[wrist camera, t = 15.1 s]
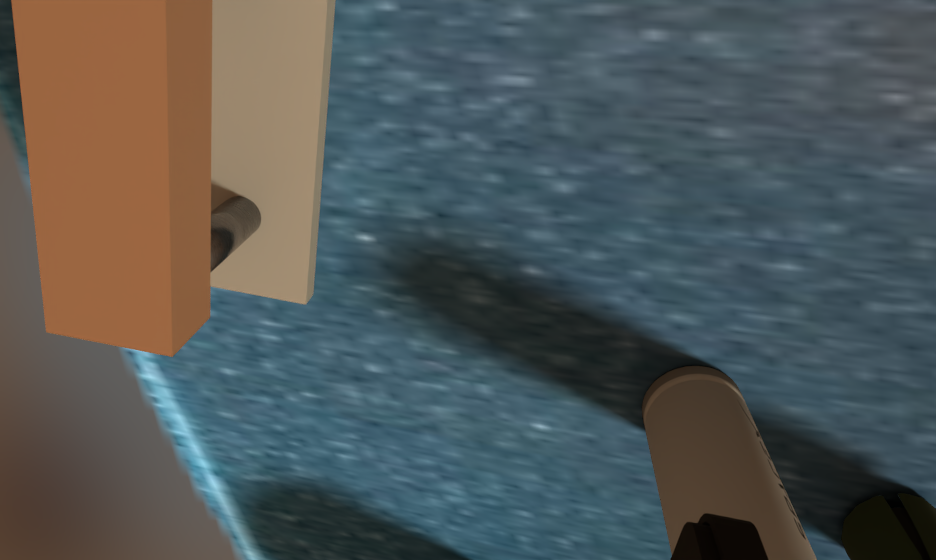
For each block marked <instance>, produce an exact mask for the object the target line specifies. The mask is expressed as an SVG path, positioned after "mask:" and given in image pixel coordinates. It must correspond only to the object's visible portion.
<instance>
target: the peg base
mask: <svg viewBox="0 0 936 560" xmlns="http://www.w3.org/2000/svg"><path fill="white" fill-rule="evenodd" d="M334 13H335V0H212V123H211V211H212V210H214V209H215V208H217V207H218V206H219V205H221V204H222V203H223V202H225V201H226V200H227V199H229V198H231V197H234V196H242V197H245V198H248V199H249V200H251V201H252V202H253V203H254V204H255V205H256V206H257V207H258V209H259V211H260V214H261V224H260V226H259V228H258V229H257V231H255V232H254V233H253V234H252V235H251V236H250V237H249V238H248V239H247V240H246V241H245V242H243V243H242V244H241V245H240V246H239V247H238V248H237V249H236V250H235V251H234V252H233V253H232V254H230V255H229V256H228V257H227V258H226V259H225V260H224V261H223V262H222V263H221V264H220V265H218V266H217V267H216V268H215V269H214V270H213V271H212V272H211V273H210V286H212V287H217V288H222V289H227V290H233V291H238V292H243V293H248V294H254V295H259V296H264V297H269V298H274V299H280V300H285V301H290V302H295V303H301V304H307V302H308V301H309V300H310V298H311V297H312V295H313V292H314V278H315V265H316V252H317V239H318V225H319V212H320V199H321V186H322V172H323V159H324V146H325V133H326V119H327V106H328V93H329V80H330V66H331V53H332V40H333V27H334Z"/></svg>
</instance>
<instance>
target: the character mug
mask: <svg viewBox="0 0 936 560" xmlns="http://www.w3.org/2000/svg"><path fill="white" fill-rule="evenodd" d="M898 496H899V498H900V499H901V501H902V503H903V505H904V507H905V508H898V507H895V508H892V509H891V508H890V506H889V505H888V503H887V502H886V500H885V498H884V497H883V495H882V496H875V497H873V498H871V499H869V500H867V501H865V502H863V503H861V504H859V505H857V506H856V507H855V508H854V510H853V511H852V512H851V513H850V514H849V515H848V516H847V517H846V518H845V519H844V524H843V530H842V537H841V540H842V542H843V545H844V548H845V550H846V553H847V555H848V556H849V558H850V559H851V560H936V508H934V507H933V506H932V505H931V504H929V503H928V502H927V501H926V500H924V499H923V498H921V497H917V496H913V495H909V494H905V493H899V494H898Z"/></svg>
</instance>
